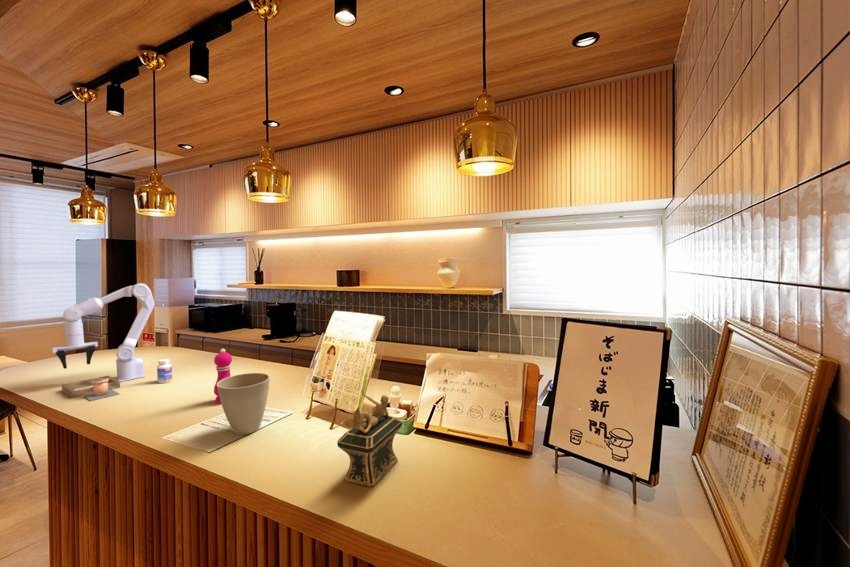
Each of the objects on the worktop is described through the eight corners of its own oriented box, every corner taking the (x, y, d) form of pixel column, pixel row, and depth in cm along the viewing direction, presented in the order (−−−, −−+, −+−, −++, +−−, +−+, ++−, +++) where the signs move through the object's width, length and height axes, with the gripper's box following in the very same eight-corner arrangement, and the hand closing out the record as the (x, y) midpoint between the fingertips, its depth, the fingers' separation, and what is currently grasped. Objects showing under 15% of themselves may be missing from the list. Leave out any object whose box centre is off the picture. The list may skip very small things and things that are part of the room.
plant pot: (235, 420, 128) (233, 372, 127) (279, 419, 127) (277, 372, 126) (208, 441, 113) (205, 388, 112) (258, 441, 112) (256, 387, 111)
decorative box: (372, 450, 105) (371, 380, 104) (404, 457, 102) (402, 384, 100) (326, 491, 87) (324, 406, 86) (363, 501, 83) (360, 413, 82)
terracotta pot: (102, 391, 157) (101, 377, 156) (113, 392, 156) (112, 378, 155) (89, 396, 152) (88, 381, 151) (99, 397, 150) (98, 382, 150)
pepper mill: (240, 398, 147) (237, 347, 146) (223, 405, 141) (220, 351, 139) (227, 396, 150) (224, 345, 149) (210, 402, 144) (207, 350, 142)
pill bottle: (167, 383, 168) (165, 361, 167) (154, 383, 168) (153, 361, 167) (175, 379, 173) (174, 358, 173) (163, 379, 173) (162, 358, 173)
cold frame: (108, 381, 172) (107, 375, 172) (120, 387, 163) (119, 381, 163) (62, 391, 160) (61, 385, 160) (71, 398, 151) (71, 392, 151)
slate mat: (111, 390, 160) (111, 389, 160) (119, 394, 155) (119, 393, 155) (83, 396, 153) (83, 395, 153) (90, 401, 147) (90, 400, 147)
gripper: (93, 331, 173) (95, 360, 173) (49, 336, 161) (51, 368, 162) (98, 332, 168) (100, 363, 169) (53, 338, 157) (55, 371, 158)
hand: (76, 366), depth 165 cm, fingers open, 7 cm apart
